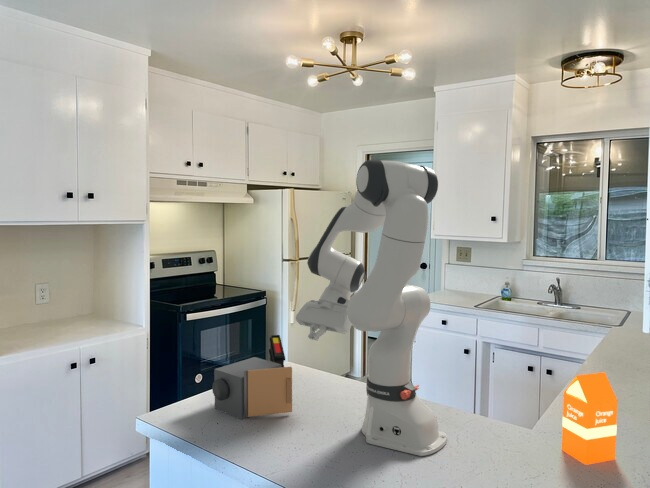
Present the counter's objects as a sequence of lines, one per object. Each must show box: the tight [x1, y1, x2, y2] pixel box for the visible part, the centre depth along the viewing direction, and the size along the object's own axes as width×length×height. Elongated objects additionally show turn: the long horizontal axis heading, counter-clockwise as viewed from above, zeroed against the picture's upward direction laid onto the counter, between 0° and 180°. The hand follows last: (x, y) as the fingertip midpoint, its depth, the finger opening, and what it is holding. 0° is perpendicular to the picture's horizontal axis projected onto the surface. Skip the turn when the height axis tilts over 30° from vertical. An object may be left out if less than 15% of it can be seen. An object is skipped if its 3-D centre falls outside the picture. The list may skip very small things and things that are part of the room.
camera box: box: [211, 356, 281, 420], centre depth 149 cm, size 12×18×12 cm
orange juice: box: [561, 371, 618, 465], centre depth 120 cm, size 8×9×20 cm
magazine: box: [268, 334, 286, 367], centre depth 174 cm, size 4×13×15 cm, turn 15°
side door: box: [244, 366, 293, 418], centre depth 141 cm, size 2×14×13 cm, turn 105°
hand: (312, 338), depth 155 cm, fingers closed
